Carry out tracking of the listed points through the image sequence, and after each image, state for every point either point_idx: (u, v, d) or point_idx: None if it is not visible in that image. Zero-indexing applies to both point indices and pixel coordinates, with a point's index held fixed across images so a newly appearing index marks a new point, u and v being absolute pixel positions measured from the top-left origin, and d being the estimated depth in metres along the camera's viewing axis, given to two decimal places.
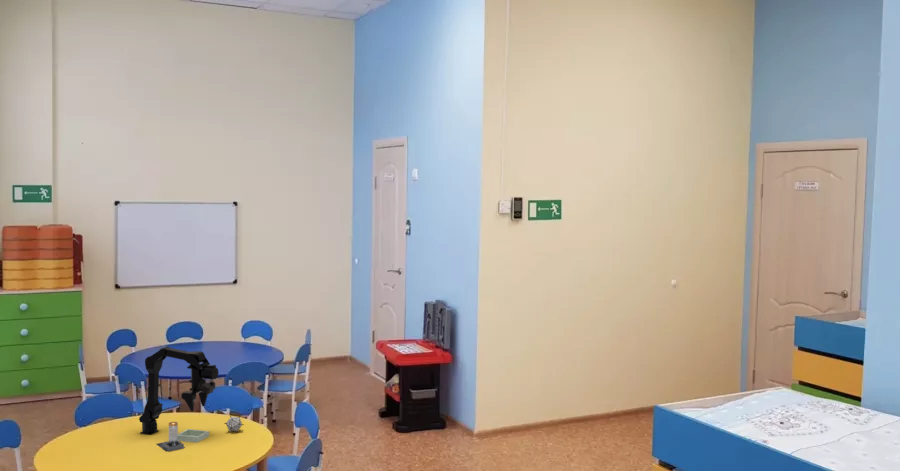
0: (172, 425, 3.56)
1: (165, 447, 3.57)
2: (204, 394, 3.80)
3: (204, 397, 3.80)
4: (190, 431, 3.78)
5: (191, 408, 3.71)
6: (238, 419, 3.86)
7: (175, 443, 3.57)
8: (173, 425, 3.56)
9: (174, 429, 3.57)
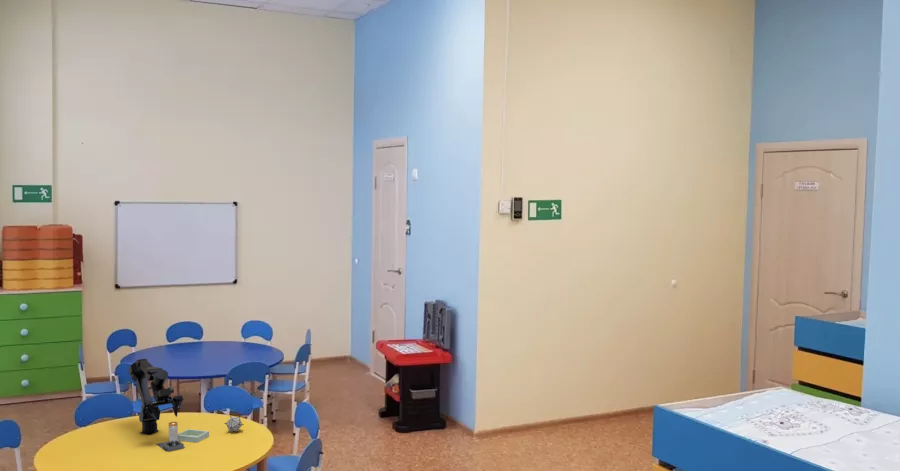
0: (172, 425, 3.56)
1: (165, 447, 3.57)
2: (174, 405, 3.70)
3: (174, 407, 3.69)
4: (190, 431, 3.78)
5: (155, 417, 3.62)
6: (238, 419, 3.86)
7: (175, 443, 3.57)
8: (173, 425, 3.56)
9: (174, 429, 3.57)
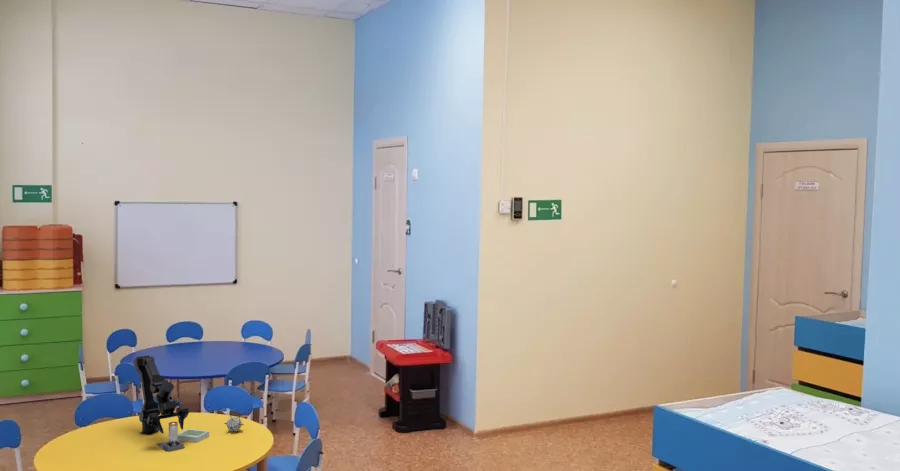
0: (172, 425, 3.56)
1: (165, 447, 3.57)
2: (180, 418, 3.65)
3: (180, 420, 3.64)
4: (190, 431, 3.78)
5: (160, 430, 3.56)
6: (238, 419, 3.86)
7: (175, 443, 3.57)
8: (173, 425, 3.56)
9: (174, 429, 3.57)
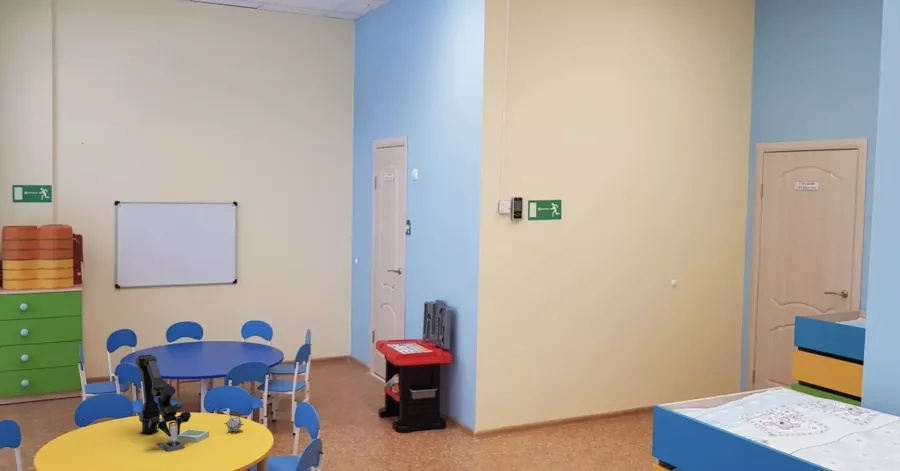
0: (172, 425, 3.56)
1: (165, 447, 3.57)
2: None
3: None
4: (190, 431, 3.78)
5: (167, 433, 3.56)
6: (238, 419, 3.86)
7: (175, 443, 3.57)
8: (173, 425, 3.56)
9: (174, 429, 3.57)
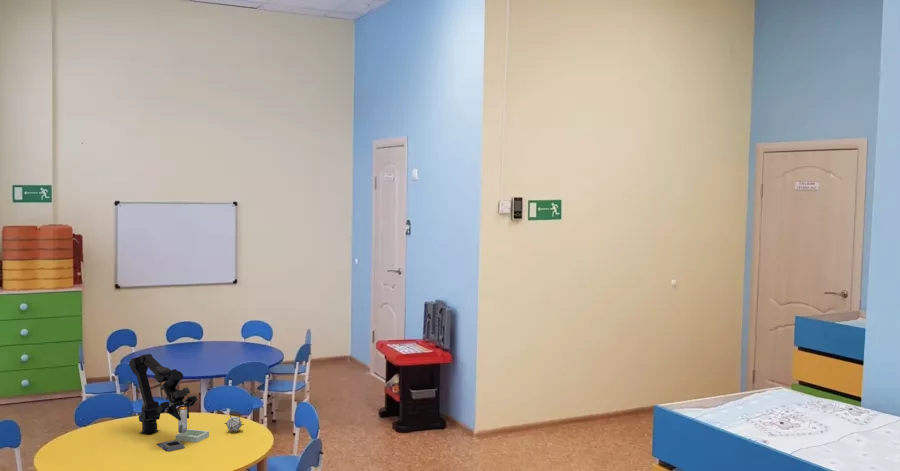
0: (182, 409, 3.62)
1: (165, 447, 3.57)
2: None
3: None
4: (190, 431, 3.78)
5: (177, 417, 3.62)
6: (238, 419, 3.86)
7: (185, 427, 3.63)
8: (183, 409, 3.62)
9: (184, 413, 3.62)
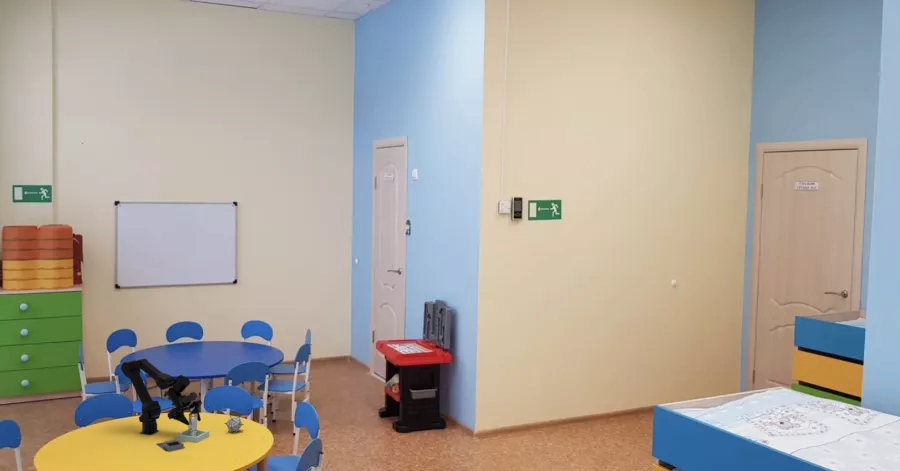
0: (194, 416, 3.71)
1: (165, 447, 3.57)
2: (194, 410, 3.77)
3: (196, 412, 3.77)
4: None
5: (186, 422, 3.68)
6: (238, 419, 3.86)
7: (196, 433, 3.73)
8: (195, 416, 3.71)
9: (195, 420, 3.72)
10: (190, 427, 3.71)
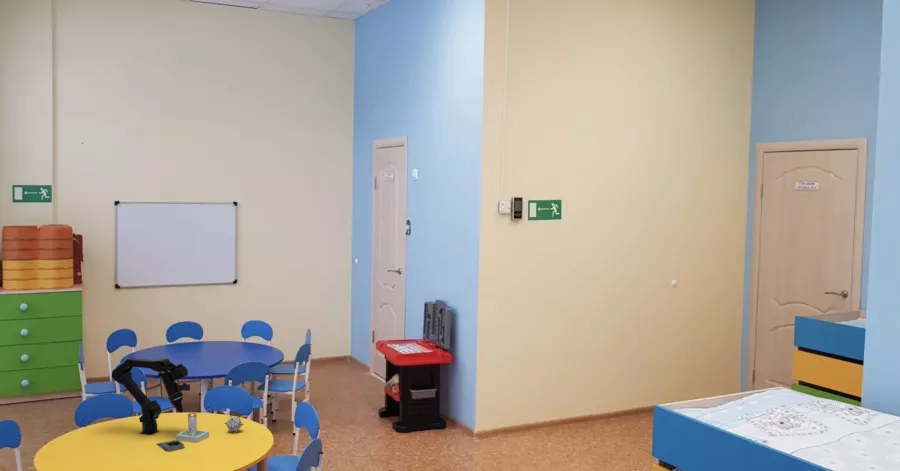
0: (193, 416, 3.71)
1: (165, 447, 3.57)
2: None
3: None
4: None
5: (181, 409, 3.75)
6: (238, 419, 3.86)
7: (195, 433, 3.72)
8: (194, 416, 3.71)
9: (195, 420, 3.72)
10: (190, 427, 3.71)
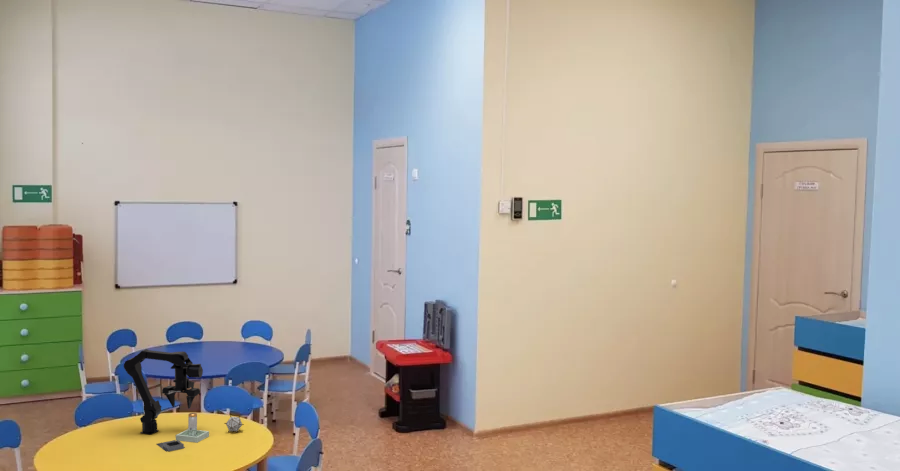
0: (194, 416, 3.71)
1: (165, 447, 3.57)
2: (173, 395, 3.85)
3: (173, 397, 3.85)
4: None
5: (190, 405, 3.82)
6: (238, 419, 3.86)
7: (195, 433, 3.72)
8: (194, 416, 3.71)
9: (195, 420, 3.72)
10: (190, 427, 3.71)
